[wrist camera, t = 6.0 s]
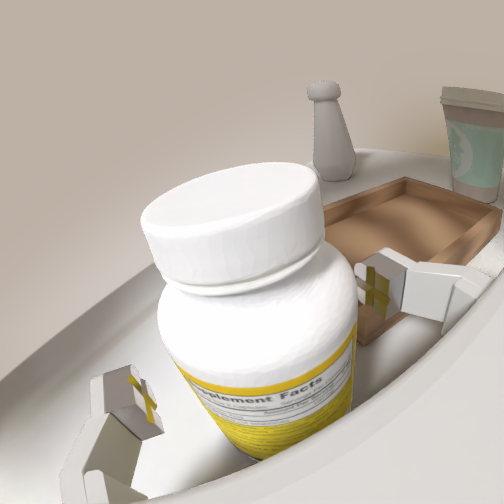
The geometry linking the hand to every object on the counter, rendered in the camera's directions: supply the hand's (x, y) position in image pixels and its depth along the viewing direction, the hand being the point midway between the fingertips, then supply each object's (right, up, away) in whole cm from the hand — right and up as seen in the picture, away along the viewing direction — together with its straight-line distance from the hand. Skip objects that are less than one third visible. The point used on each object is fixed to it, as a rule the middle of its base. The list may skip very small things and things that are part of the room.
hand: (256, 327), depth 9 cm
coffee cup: (+25, +9, +16) cm, 31 cm away
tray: (+11, +3, +11) cm, 16 cm away
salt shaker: (+11, +12, +28) cm, 32 cm away
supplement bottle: (+1, -5, +2) cm, 5 cm away
